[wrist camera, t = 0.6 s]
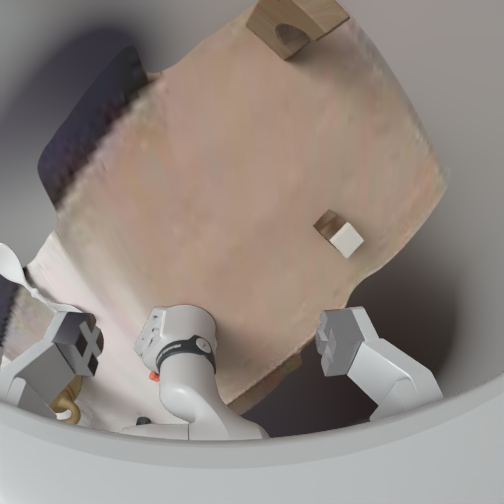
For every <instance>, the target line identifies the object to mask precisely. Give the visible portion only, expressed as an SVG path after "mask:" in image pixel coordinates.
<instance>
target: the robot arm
mask: <svg viewBox="0 0 504 504" xmlns="http://www.w3.org/2000/svg"><path fill="white" fill-rule="evenodd" d="M155 316H157V317H155ZM319 319H320V322H321V324H320V325H319V326H318V327H317V330H316V346H317V350H318V352H319V353H320V354H321V355H322V356H323V357H322V360H321V364H322V367H323V371H324V374H325V376H333V375H342V374H347V375H348V376H349V377H350V378H351V379H352V380H353V381H354V382H355V383H356V384H357V385H358V386H359V387H360V388H361V389H362V390H363V391H365V393H367V395H369V396H370V397H371V398H372V399H373V400H374V401H375V402H376V403H377V404H378V405H379V406H378V408H377V409H376V410H375V412H374V413H373V414H372V416H371V417H370V421H371V422H368V423H363V424H359V425H354V426H350V427H345V428H340V429H335V430H329V431H323V432H317V433H311V434H304V435H296V436H287V437H277V438H270V437H269V435H268V434H267V432H266V431H265V430H264V429H263V428H262V427H260V426H259V425H258V424H256V423H253V422H251V421H248V420H246V419H244V418H242V417H240V416H239V415H237V414H236V413H234V412H233V411H232V410H230V409H229V408H228V407H227V406H226V404H225V403H224V402H223V401H222V399H221V397H220V395H219V392H218V388H217V384H216V380H215V373H216V364H215V349H216V348H217V340H216V338H215V333H216V325H215V322H214V320H213V318H212V317H211V315H210V314H209V313H207V312H206V311H205V310H203V309H201V308H199V307H196V306H191V305H178V306H174V307H169V308H165V307H156V308H154V309H153V310H152V312H151V314H150V316H149V318H148V320H147V322H146V324H145V326H144V328H143V330H142V332H141V334H140V336H139V338H138V340H137V342H136V344H135V346H134V350H135V352H136V353H137V354H138V356H139V357H140V358H142V361H143V363H144V365H145V366H146V367H147V368H148V369H150V370H151V371H152V372H151V373H150V376H149V378H150V379H151V380H154V381H156V382H158V381H159V398H160V401H161V403H162V405H163V406H164V407H165V409H166V410H168V411H169V412H170V413H171V414H172V415H174V416H176V417H178V418H180V419H183V420H185V421H187V422H189V424H144V425H137V426H131V427H125V428H123V429H122V430H121V431H120V432H119V433H116V432H110V431H104V430H99V429H94V428H89V427H84V426H80V425H75V424H71V423H67V422H63V421H60V420H56V418H57V415H56V413H55V412H54V411H53V410H52V409H51V408H50V407H49V405H50V404H51V403H52V401H53V400H54V399H55V398H56V397H57V396H58V395H59V394H60V392H61V391H62V390H63V389H64V388H65V387H66V386H67V385H68V384H69V383H70V381H71V380H72V379H73V378H74V377H75V376H76V375H84V376H92V377H94V375H95V372H96V369H97V366H98V360H97V357H98V356H99V355H100V354H101V353H102V350H103V345H104V339H103V334H102V332H101V329H99V328H98V327H97V326H96V325H95V324H96V319H95V317H94V315H93V314H91V313H80V312H70V311H69V312H67V311H58V312H57V313H56V314H55V316H54V318H53V320H52V322H51V323H50V325H49V327H48V329H47V331H46V333H45V335H44V337H43V339H42V341H38V342H36V343H35V344H34V345H32V346H31V347H30V348H29V349H27V350H26V351H25V352H23V353H22V354H21V355H19V356H18V357H17V358H16V359H14V360H13V361H12V362H11V363H9V364H8V365H7V366H6V367H4V368H3V369H2V370H1V371H0V504H504V371H503V372H501V373H499V374H497V375H495V376H493V377H491V378H490V379H488V380H485V381H483V382H481V383H479V384H477V385H475V386H473V387H471V388H468V389H466V390H464V391H461V392H459V393H457V394H454V395H452V396H449V397H447V398H444V397H443V395H442V393H441V391H440V389H439V387H438V385H437V383H436V381H435V379H434V377H433V375H432V373H431V371H430V370H428V369H427V368H425V367H424V366H422V365H421V364H420V363H418V362H417V361H415V360H414V359H412V358H411V357H409V356H408V355H406V354H405V353H403V352H402V351H400V350H399V349H398V348H396V347H395V346H393V345H392V344H390V343H389V342H387V341H386V340H384V339H379V337H378V335H377V333H376V331H375V329H374V327H373V325H372V323H371V321H370V319H369V317H368V315H367V313H366V311H365V309H364V308H363V307H353V308H343V309H333V310H322V312H321V314H320V318H319ZM75 374H76V375H75Z"/></svg>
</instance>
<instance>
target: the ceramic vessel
mask: <svg viewBox="0 0 504 504" xmlns="http://www.w3.org/2000/svg"><path fill="white" fill-rule="evenodd" d="M75 375H76V374H75ZM81 384H82V377H81V375H76V376H75V377H74V378H73V379H72V380H71V381H70V383H69V384H68V385H67V386H66V387H65V388H64V389H63V390H62V391H61V392H60V394H59V395H58V396H57V397H56V398H55V399H54V400H53V401H52V403H51V404H50V405H49V407H50V408H51V409H52V410H53V411H54V412H55V413H63V412H65V411H67V410H68V409H69V410H70V411H71V416H70V417H69V418H68V419H63V420H60V421H63V422H67V423H71V424H75V425H77V424H78V422H79V421H80V418H81V412H80V409H79V407H78V406H77V404H75V403H74V401H75V400H76V398H77V396H78V394H79V392H80V389H81ZM56 420H59V419H56Z"/></svg>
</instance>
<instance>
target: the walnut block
mask: <svg viewBox="0 0 504 504" xmlns="http://www.w3.org/2000/svg"><path fill="white" fill-rule="evenodd" d="M313 226H314V227H315V228H316V230H317V231H318V232H319V233H320V234H321V235H322V236H323V237H324V238H325V239H326V240H327V241H328V242H329V243H330V244H331V245H333V246H334V247H335V248H336V249H337V250H338V251H339V252H340V253H341V254H342V255H343V256H344V257H345V258H346V259H347V258H348V257H349V256H350V255H351V254H352V253H353V252H354V251H355V250H356V249H357V248H358V247H359V245H360V244H361V243H362V242H363V241H364V240H363V239H362V238H361V236H360V235H359V234H358V233H357V231H356V230H355V229H354V228H353V227H352V225H351V224H349V223H348V222H346V221H345V220H343V219H342V218H341V217H339V216H338V215H336V214H335V213H333V212H332V211H330V210H328V211H327V212H326V213H325V214H324V215H323V216H322V217H321V218H320V219H319V220H318V221H317V222H316V223H315V224H314V225H313Z"/></svg>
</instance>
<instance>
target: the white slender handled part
mask: <svg viewBox="0 0 504 504" xmlns="http://www.w3.org/2000/svg"><path fill="white" fill-rule="evenodd" d="M0 274H1V275H2V276H4V277H5V278H6V279H8V280H10V281H13V282H16V283H19V284H22V285H24V286H25V287H26V288H27V289H28V290H29V291H30V292H31V296H32V297H33V298H37V299H39V300H40V301H41V302H43V303H44V304H46V305H48V306H50V307H52V308H54V309H55V310H56V311H57V312H58V311H67V312H69V311H70V312H80V313H83V312H82V311H80V310H79V309H77V308H75V307H74V306H72V305H68V304H58V303H54V302H51V301H49V300H47V299H45V298H44V297H43V296H42V295H41V294H40V293H39V291H38V289H37V288H34V289H33V288H32V287H30V285H29V284H28V283H27V281H26V279H25V276H24V272H23V269H22V266H21V263H20V261H19V259H18V257H17V256H16V254H15V253H14V252H13V251H12V250H11V249H10V248H9V247H8V246H7V245H5V244H3V243H0Z"/></svg>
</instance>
